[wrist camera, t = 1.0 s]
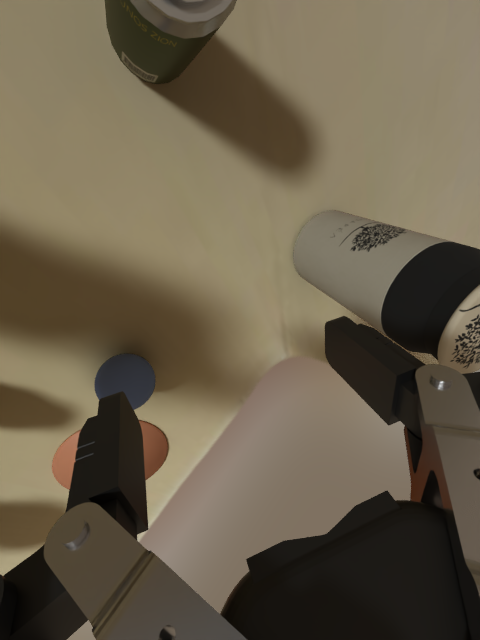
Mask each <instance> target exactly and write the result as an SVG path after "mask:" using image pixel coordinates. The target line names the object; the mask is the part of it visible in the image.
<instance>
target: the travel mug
mask: <svg viewBox="0 0 480 640" xmlns="http://www.w3.org/2000/svg"><path fill="white" fill-rule="evenodd" d="M293 259H294V265H295V268H296V270H297V272H298V274H299V275H300V276H301V277H302V278H303V279H305V280H306V281H308V282H309V283H310V284H312V285H313V286H315V287H316V288H318V289H319V290H321V291H322V292H324V293H325V294H326V295H328V296H329V297H331V298H332V299H334V300H335V301H337V302H338V303H340V304H341V305H343V306H344V307H345V308H347V309H348V310H350V311H351V312H353V313H354V314H356V315H357V316H359V317H360V318H361V319H363V320H364V321H366V322H367V323H369V324H370V325H372V326H373V327H375V328H376V329H378V330H379V331H380V332H382V333H383V334H385V335H386V336H388V337H389V338H391V339H392V340H394V341H395V342H396V343H398V344H399V345H401V346H402V347H404V348H405V349H407V350H409V351H412V352H420V353H428V354H431V355H433V356H434V357H435V358H436V359H437V360H438V361H439V364H440V365H443V366H447V367H450V368H452V369H455V370H456V371H458V372H460V373H461V374H465V373H472V372H475V371H477V370H479V369H480V250H479V249H477V248H473V247H470V246H466V245H462V244H459V243H455V242H451V241H448V240H444V239H440V238H437V237H433V236H429V235H425V234H422V233H418V232H414V231H411V230H407V229H403V228H400V227H396V226H392V225H389V224H385V223H381V222H378V221H374V220H370V219H367V218H363V217H359V216H355V215H352V214H348V213H344V212H341V211H336V210H331V211H326V212H323V213H320V214H318V215H316V216H315V217H313V218H312V219H311V220H310V221H309V222H308V223H307V224H306V225H305V226H304V227H303V229H302V230H301V232H300V234H299V235H298V238H297V240H296V243H295V247H294V253H293Z"/></svg>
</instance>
